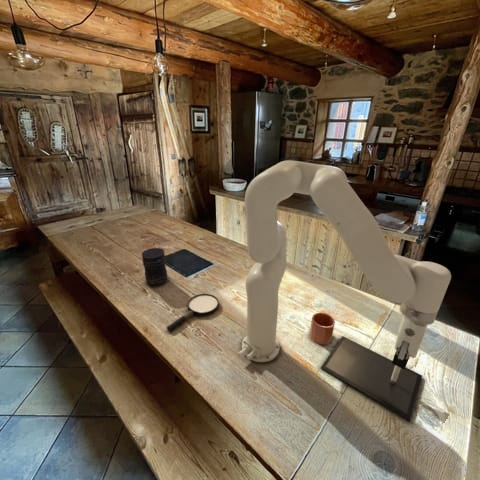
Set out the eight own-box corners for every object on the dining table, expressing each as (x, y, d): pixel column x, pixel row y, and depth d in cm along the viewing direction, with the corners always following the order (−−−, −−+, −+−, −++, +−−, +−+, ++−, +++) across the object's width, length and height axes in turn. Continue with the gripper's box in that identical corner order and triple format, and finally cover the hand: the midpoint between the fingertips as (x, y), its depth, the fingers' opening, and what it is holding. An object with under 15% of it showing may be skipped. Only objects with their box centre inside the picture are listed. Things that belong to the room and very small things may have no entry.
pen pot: (326, 348, 89) (329, 330, 86) (305, 337, 93) (308, 320, 90) (335, 335, 94) (338, 319, 91) (315, 325, 99) (318, 309, 96)
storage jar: (157, 273, 132) (153, 246, 125) (172, 279, 127) (169, 251, 121) (141, 282, 124) (136, 254, 118) (156, 289, 119) (152, 260, 113)
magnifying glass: (157, 324, 99) (157, 319, 98) (202, 293, 116) (202, 289, 115) (180, 339, 92) (180, 334, 91) (224, 304, 110) (224, 300, 109)
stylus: (394, 385, 75) (406, 351, 70) (389, 382, 76) (401, 348, 71) (396, 381, 76) (408, 348, 71) (390, 378, 77) (402, 345, 72)
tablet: (409, 421, 67) (410, 419, 67) (320, 368, 82) (321, 366, 81) (421, 377, 79) (422, 375, 79) (342, 337, 93) (342, 335, 93)
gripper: (431, 334, 58) (408, 391, 66) (440, 301, 69) (420, 353, 76) (393, 319, 63) (376, 374, 70) (407, 290, 73) (391, 340, 81)
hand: (399, 363), depth 73 cm, fingers closed on stylus, 1 cm apart
